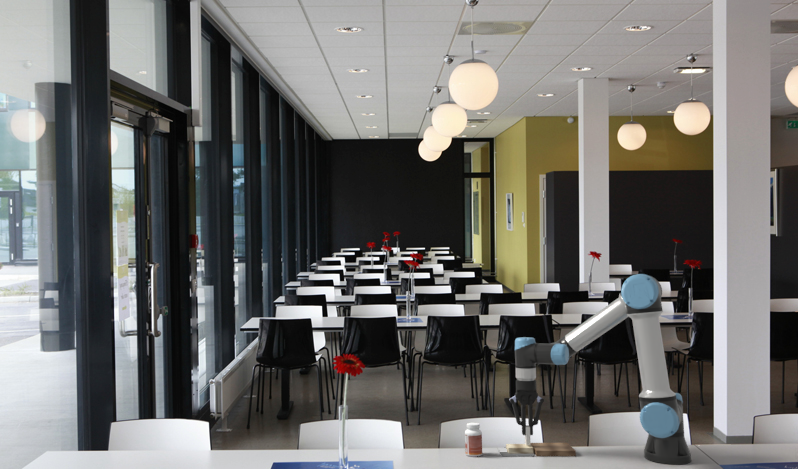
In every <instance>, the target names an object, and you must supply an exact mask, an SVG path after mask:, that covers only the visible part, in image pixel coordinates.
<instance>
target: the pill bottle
mask: <svg viewBox="0 0 798 469" xmlns="http://www.w3.org/2000/svg"><path fill="white" fill-rule="evenodd" d="M480 428H481V426H480V423H479V422H468V423H466V429H465V431H464V447H465V448H464V449H465V450H464V451H465V455H466V456H467V457H475V458H476V457H477V456H478V457H482V456H483V433H482V430H481V429H480Z"/></svg>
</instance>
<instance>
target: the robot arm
mask: <svg viewBox="0 0 798 469" xmlns="http://www.w3.org/2000/svg"><path fill="white" fill-rule="evenodd" d="M620 291H621V292H619V295H618V298H616V299H615V300H613V301H612V302H610V303H609V304H608V305H606V306H605V307H603V308H602V309H600V310H599V311H598V312H596V313H595V314H594V315H592V316H591V317H589V318H587V319H586V320H585V321H584V322H582V323H580V324H579V325H578V326H576V327H575V328H573V330H571V331H570V332H568V333H566V334H565V335H564V336H562V337H561V338H560V339H558V340H556V341H555V342H551V343H539V342H536V338H534V337H526V336H523V337H516V338H515V340H514V359H515V360H514V361H515V378H516V380H515V393H514V396H512V397H509V399H508V400H509V402H510V403H511V406H512V409H513V413H514V416H515V421H516V423H517V424H518V426H521V434H522V435H523V436H524V444H526V445H531V443H532V442H531V436H534V426H537V425H538V424H539V419H540V414H541V409H542V405H543V404H544V402H545V399H544V398H543V397H541V396H540V395H539V394H538V391H537V380H536V378H537V365H538V364H540V365H556V366H563V365H564V366H565V365H567V364H568V362H569V360H570V358H571V357H572V356H573V355H575V354H577V353H578V352H579V351H580V350H582V349H583V348H585V347H586V346H588V345H589V344H591V343H593V341H595V340H597V339H598V338H600V337H601V336H602V335H605V333H607V332H608V331H610V330H611V329H613V328H614V327H616V326H617V325H618V324H621V323H622V322H623V321H624V320H626V319H627V318H630V319H631V320H632V326H633V328H632V329H633V335H634V340H635V342H634V343H635V348H636V353H637V359H638V360H637V362H638V368H639V373H640V381H641V387H642V390H641V392H640V393H639V395H638V398H639V399H638V401H639V406H640V413H639V422H640V425H641V426H642V429H643V430H644V431H645V432H646V433H647V434H648V435H647V436H648V437H647V440H646V442H645V446H644V450H643V453H644V454H643V457H644V458H645V459H646V460H647V461H651V462H654V463H660V464H668V465H683V464H684V465H685V464H689V463H691V462H692V452H690V448H689V446H688V444H687V441H686V438H685V424H684V406H683V404H684V401H683V396H682V395H681V394H680V393H679V392H674V391H673V390H672V389H671V388H670V380H669V374H668V373H669V372H668V369H667V368H668V367H667V361H666V356H665V349H664V342H663V335H662V330H661V329H662V328H661V323H660V316H661V315H662V314H663V312H664V311H663V306H662V297H663V288H662V285H661V283H660V282H659V280H657V279H656V278H655V277H653V276H652V275H648V274H645V273H637V274H633V275H630V276H629V277H627V278H626V279H625V280H624V282H623V284H622V286H621V290H620ZM536 364H537V365H536ZM517 401H518V403H519V404H520V410H521V411H520V413H519V409H518V407H517ZM535 401H536V406H535V411H534V417H533V407H534V406H533V405H534V404H535ZM526 406H527V412H526ZM526 413H527V414H528V416H527V414H526ZM519 414H520V415H521V416H520V415H519ZM527 420H528V425H527Z"/></svg>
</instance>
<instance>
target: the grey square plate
mask: <svg viewBox="0 0 798 469" xmlns="http://www.w3.org/2000/svg"><path fill="white" fill-rule="evenodd" d="M499 454H500V456H501V457H508V458H509V457H511V458H512V457H521V458H522V457H524V458H525V457H536V455H535V454H509V453H508V452H499Z"/></svg>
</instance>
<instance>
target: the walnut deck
mask: <svg viewBox="0 0 798 469" xmlns="http://www.w3.org/2000/svg"><path fill="white" fill-rule="evenodd" d="M530 443H531V446H532V447H533V453H534V455H535V457H576V456H577V453H576V452H577V451H576V449H574V447H572V445H570V444H569V443H568V442H530Z"/></svg>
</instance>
